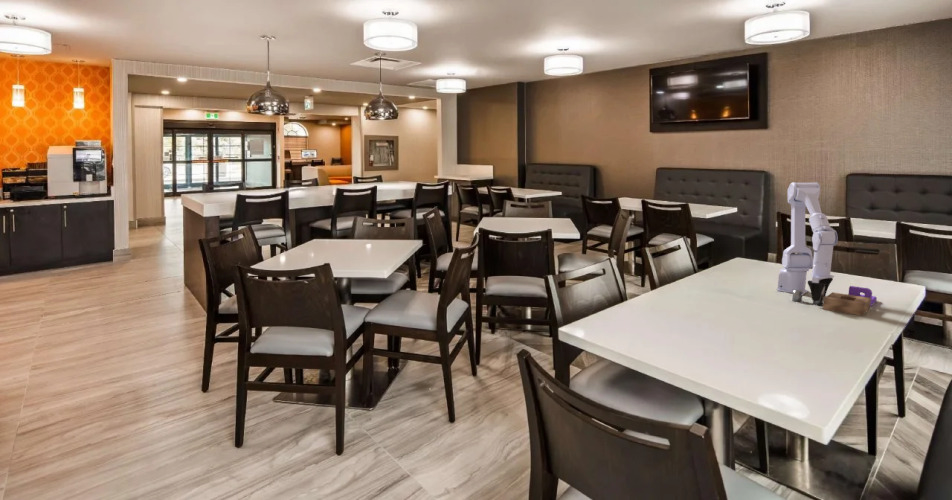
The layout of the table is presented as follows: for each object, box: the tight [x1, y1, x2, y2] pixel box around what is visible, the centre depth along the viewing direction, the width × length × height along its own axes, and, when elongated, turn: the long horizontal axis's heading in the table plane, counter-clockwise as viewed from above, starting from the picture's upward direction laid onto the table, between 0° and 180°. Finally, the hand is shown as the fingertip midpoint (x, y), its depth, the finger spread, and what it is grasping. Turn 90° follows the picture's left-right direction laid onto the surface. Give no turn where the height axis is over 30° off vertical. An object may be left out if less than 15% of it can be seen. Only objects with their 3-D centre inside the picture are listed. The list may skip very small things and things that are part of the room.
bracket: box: [847, 285, 877, 307], centre depth 207 cm, size 12×7×7 cm, turn 134°
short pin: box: [791, 290, 804, 303], centre depth 210 cm, size 3×3×4 cm
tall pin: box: [812, 286, 825, 307], centre depth 204 cm, size 3×3×8 cm
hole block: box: [822, 292, 871, 317], centre depth 198 cm, size 12×12×4 cm
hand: (818, 298), depth 205 cm, fingers open, 7 cm apart
